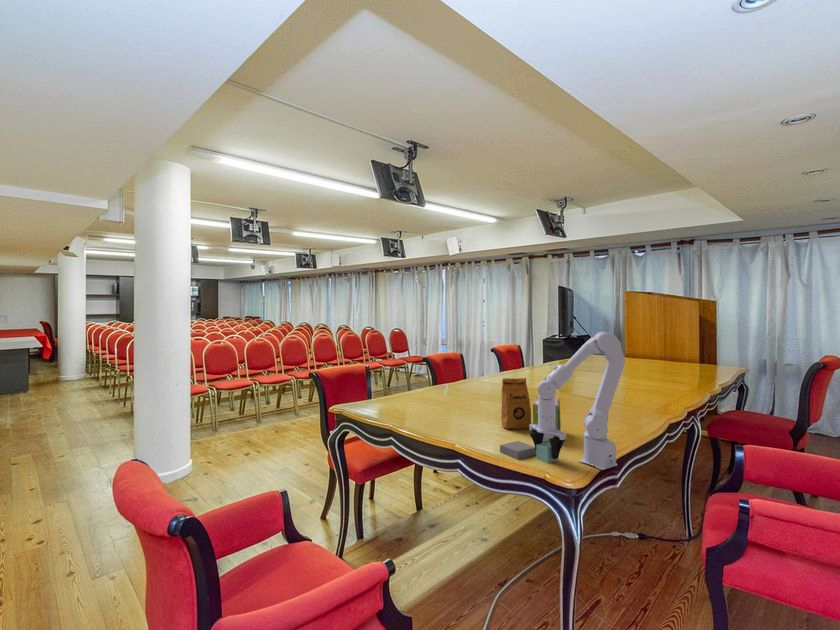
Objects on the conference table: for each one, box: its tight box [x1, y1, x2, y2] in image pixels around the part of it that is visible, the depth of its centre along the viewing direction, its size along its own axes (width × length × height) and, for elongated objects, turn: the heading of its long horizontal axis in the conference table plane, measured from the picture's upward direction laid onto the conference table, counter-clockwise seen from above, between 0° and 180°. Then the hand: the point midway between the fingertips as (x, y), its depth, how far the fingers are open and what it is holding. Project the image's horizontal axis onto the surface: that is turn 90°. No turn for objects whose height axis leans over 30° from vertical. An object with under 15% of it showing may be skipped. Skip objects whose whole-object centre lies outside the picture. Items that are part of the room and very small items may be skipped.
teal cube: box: [535, 441, 559, 464], centre depth 141 cm, size 5×5×5 cm
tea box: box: [532, 396, 562, 442], centre depth 168 cm, size 15×10×15 cm, turn 159°
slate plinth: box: [499, 440, 536, 460], centre depth 148 cm, size 9×9×3 cm
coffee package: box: [500, 377, 532, 430], centre depth 181 cm, size 10×12×22 cm
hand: (547, 455), depth 141 cm, fingers open, 7 cm apart
